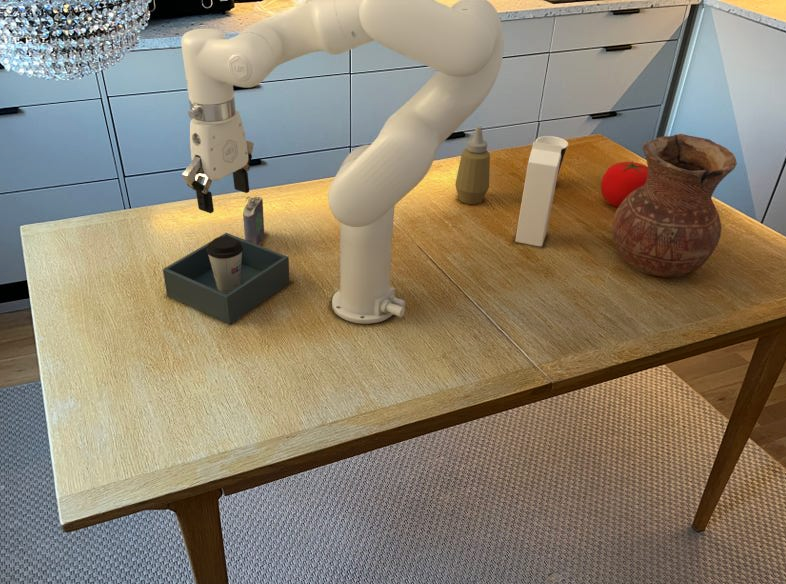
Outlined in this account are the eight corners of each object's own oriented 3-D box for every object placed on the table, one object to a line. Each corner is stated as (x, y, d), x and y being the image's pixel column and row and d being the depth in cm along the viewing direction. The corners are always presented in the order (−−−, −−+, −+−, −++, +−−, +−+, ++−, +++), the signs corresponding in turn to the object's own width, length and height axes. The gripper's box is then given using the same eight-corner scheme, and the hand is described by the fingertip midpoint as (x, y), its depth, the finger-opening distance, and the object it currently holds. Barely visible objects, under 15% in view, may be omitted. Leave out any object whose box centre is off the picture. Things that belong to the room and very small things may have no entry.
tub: (289, 283, 153) (288, 256, 149) (229, 324, 141) (226, 297, 137) (228, 258, 160) (226, 232, 156) (166, 295, 148) (162, 269, 144)
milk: (541, 247, 167) (560, 152, 153) (514, 242, 168) (530, 147, 154) (546, 234, 171) (564, 140, 157) (519, 229, 173) (535, 136, 159)
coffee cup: (205, 293, 148) (199, 248, 142) (219, 275, 154) (214, 231, 147) (238, 298, 147) (234, 253, 141) (251, 280, 152) (247, 236, 146)
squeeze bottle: (448, 194, 186) (455, 122, 175) (479, 190, 188) (487, 119, 177) (461, 208, 180) (469, 135, 169) (492, 204, 182) (502, 132, 171)
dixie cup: (527, 176, 195) (534, 134, 188) (558, 178, 195) (566, 136, 188) (529, 189, 189) (536, 147, 182) (561, 191, 189) (570, 149, 182)
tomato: (595, 210, 181) (605, 169, 174) (598, 190, 190) (608, 150, 183) (647, 218, 178) (659, 177, 172) (648, 197, 187) (659, 157, 181)
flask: (255, 254, 161) (251, 208, 155) (242, 252, 162) (238, 207, 155) (266, 233, 169) (263, 188, 162) (253, 232, 169) (250, 187, 162)
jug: (723, 290, 155) (765, 175, 139) (620, 288, 154) (652, 173, 139) (686, 236, 172) (720, 129, 157) (594, 234, 172) (620, 127, 156)
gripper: (193, 128, 121) (207, 224, 132) (262, 97, 133) (270, 188, 143) (159, 119, 125) (176, 213, 135) (230, 90, 136) (240, 179, 147)
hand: (224, 200), depth 139 cm, fingers open, 9 cm apart
